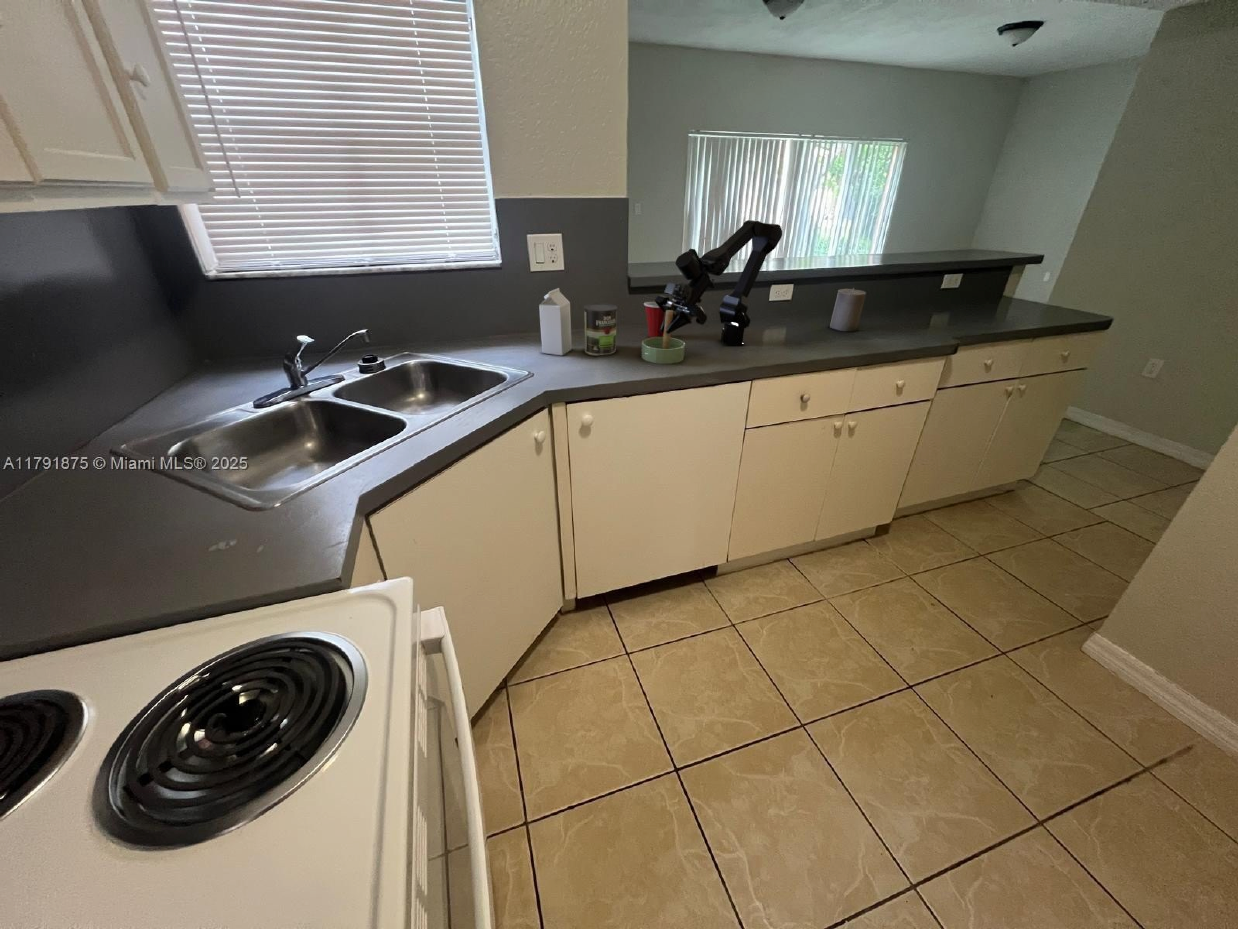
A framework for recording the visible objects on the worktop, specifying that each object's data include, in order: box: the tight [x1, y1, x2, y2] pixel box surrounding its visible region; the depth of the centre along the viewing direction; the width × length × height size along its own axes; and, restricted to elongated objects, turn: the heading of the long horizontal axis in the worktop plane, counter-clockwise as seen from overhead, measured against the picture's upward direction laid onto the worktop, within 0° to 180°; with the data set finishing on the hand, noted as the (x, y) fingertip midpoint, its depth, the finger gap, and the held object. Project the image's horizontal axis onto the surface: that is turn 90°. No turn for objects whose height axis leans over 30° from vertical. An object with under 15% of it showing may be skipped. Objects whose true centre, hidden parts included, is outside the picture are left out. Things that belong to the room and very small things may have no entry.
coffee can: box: [583, 302, 618, 357], centre depth 154 cm, size 10×10×14 cm
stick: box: [662, 310, 674, 349], centre depth 148 cm, size 5×5×14 cm
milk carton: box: [538, 287, 572, 356], centre depth 151 cm, size 7×7×19 cm
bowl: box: [640, 337, 686, 365], centre depth 151 cm, size 13×13×5 cm
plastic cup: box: [643, 301, 665, 338], centre depth 169 cm, size 11×11×12 cm
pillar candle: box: [829, 287, 867, 333], centre depth 183 cm, size 10×10×15 cm
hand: (664, 331), depth 147 cm, fingers closed on stick, 2 cm apart
